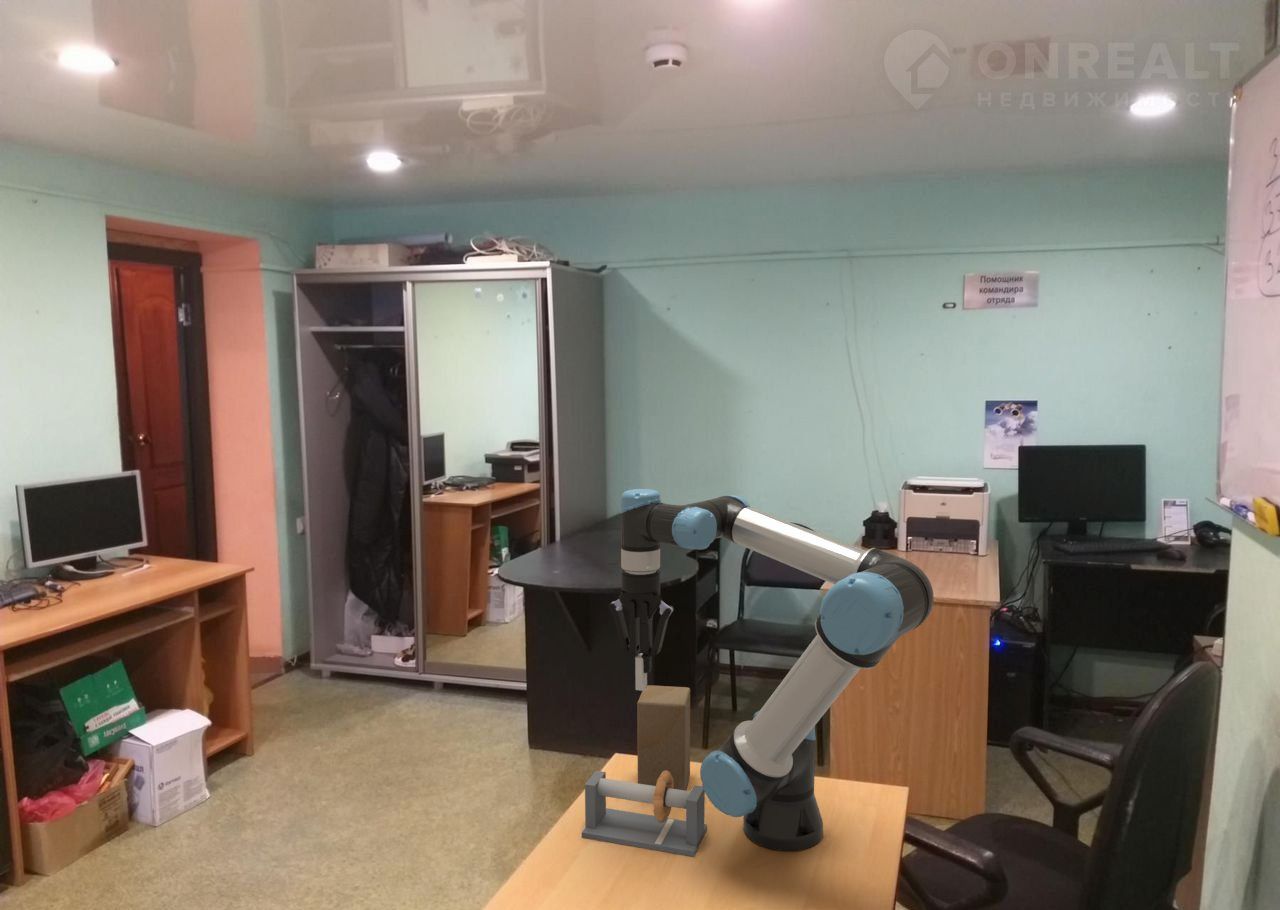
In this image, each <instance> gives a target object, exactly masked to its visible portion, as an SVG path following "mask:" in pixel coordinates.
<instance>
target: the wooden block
mask: <svg viewBox="0 0 1280 910" xmlns="http://www.w3.org/2000/svg"><path fill="white" fill-rule="evenodd" d="M636 705H637V707H636V709H637V710H636V711H637V712H636V713H637V715H636V718H637V721H636V723H637V724H636V725H637V729H636V731H637V732H636V733H637V735H636V736H637V739H636V740H637V743H636V744H637V752H636V753H637V783H638V784H644V785H651V786H656V783H657V780H658V778H659V776H660V775H661V773H662V772H663V771H665V770H667V771H669V772H670V774H671V776H672V778H673V780H674V789H678V790H685V791H687V788H688V785H689V784H688V783H689V779H690V776H691V688H690V687H686V686H670V685H669V686H668V685H667V686H666V685H665V686H664V685H648V684H647V687H646V688H645V689H644V690H643V691H641V694H640V695H639V699H638V700H637V703H636Z"/></svg>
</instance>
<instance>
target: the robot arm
mask: <svg viewBox="0 0 1280 910" xmlns="http://www.w3.org/2000/svg"><path fill="white" fill-rule="evenodd" d="M620 500H621V501H620V512H619V514H620V534H621V536H620V537H621V538H620V539H621V542H620V543H621V545H620V547H621V548H620V554H621V555H620V559H621V560H620V561H621V562H620V567H621V569H622V571H621V573H620V575H621V577H620V578H621V580H620V581H621V584H620V585H621V586H620V587H621V589H620V590H621V591H620V595H619V598H618V599H617V600H614V601H612V602H611V603H609V604H608V605H607V606H608V610H609V611H610V613H611V615H612V616H613V622H614V625H615V629H616V633H617V638H618V641H619V642H618V643H619V647H620V650H621V652H622V653H624V654H625V653H626V654H629V656H630V672H632V673H634V674H635V675H634V676H635V690H636V691H641V692H642V691H643V690H644V689H645V688H646V687H647V685H648V674H650V672H651V671H652V663H653V662H652V661H653V660H652V657H653V656H657V655H658V654H659V653H660V652H661V650H662V647H663V643H664V639H665V634H666V630H667V627H668V621H669V619H670V616H671V614H672V613H673V612H674V610H675V608H674V606H673V605H668V604H666V603H665V602H664V601H663V600H664V599H663V597H662V594H661V571H660V570H659V569H660V568H661V544H662V545H668V546H671V547H672V546H673V547H679V548H682V549H686V550H700V551H701V550H705V549H707V548H709V547H710V544H712V543H713V542H714V540H716V539H718V538H720V539H724V540H725V541H726V540H727V541H728V542H732V543H733V544H737V545H740V546H741V547H744V548H747V549H748V550H751V551H753V552H757V554H758V553H759V554H761V555H763V556H766V557H767V558H770V559H772V560H774V561H778V562H779V563H782V564H785V565H787V566H789V567H792V568H794V569H797V570H799V571H802V572H803V573H807V575H811V576H813V577H816V578H818V579H820V580H823V581H826V582H828V583H830V584H833V585H832V586H831V587H830V588H829V590H828V591H826V593H825V594H824V596H823V598H822V601H821V605H820V609H819V615H818V617H817V618H816V620H815V623H814V625H815V628H814V629H815V632H816V635H815V637H814V638H813V639H812V641H811V643H809V645H808V646H807V647H806V649H805V650H804V652H802V654H801V656H800V657H799V658H798V660H797V661H796V662H795V663H794V665H793V666H792V667H791V669H790V670H789V671H788V673H787V674H786V675H785V677H784V678H783V679H782V681H781V682H780V684H779V685H778V686H777V687H776V689H775V690H774V691H773V692H772V694H771V696H769V698H768V699H767V700H766V701H765V703H764V705H763V706H762V707H761V709H760V710H758V711H756V712H755V713H754V714H753V719H752V720H745V721H741V722H740V723H738V725H737V726H736V727H735V728H734V730H733V731H732V733H731V734H730V735H729V736H728V737H727V739H726V740H725V742H723V744H722V745H721V746H719V748H718V749H717V750H713V751H711V752H709V753H708V755H706V757H704V759H703V760H702V762H701V765H700V769H699V776H700V777H699V778H700V780H701V784H702V785H701V786H703V789H704V791H705V795H706V797H707V798H708V800H709V801H710V803H711V804H712V805H713V806H714V807H715V808H716V810H718V811H719V812H721V813H722V814H724V815H726V816H731V817H732V818H741V817H743V819H742V820H743V821H742V823H743V825H742V828H743V832H744V834H745V835H746V836H747V838H748V839H749V840H751V842H754V843H755V844H757V845H759V846H761V847H764V848H767V849H771V850H775V851H782V852H793V851H802V850H806V849H809V848H812V847H814V846H816V845H817V844H818V843H819V842H820V841H821V840H822V838H823V835H824V833H823V832H824V831H823V830H824V823H823V818H822V814H821V811H820V808H819V805H818V802H817V799H816V795H815V773H816V772H815V767H816V764H815V763H816V758H815V757H816V740H817V737H816V724H818V722H819V721H820V720H821V718H822V717H823V716H824V715H825V714H826V713H827V711H828V709H829V708H830V707H831V706H832V705H833V703H834V702H835V701H836V700H837V698H838V697H839V696H840V695H841V694H842V692H844V690H845V689H846V688H847V686H849V684H850V682H851V681H852V680H853V679H854V677H855V676H856V675H857V674H858V673H859V671H861V670H870V669H871V670H872V669H873V668H875V667H876V666H877V665H878V664H879V663H880V661H881V660H882V659H883V658H884V656H885V655H886V654H887V653H888V652H889V651H890V649H891V648H892V647H893V645H894V644H895V643H896V642H897V641H898V640H899V639H900V638H901V637H902V636H904V635H906V634H908V633H910V632H911V631H913V630H915V629H917V628H918V627H920V626H921V625H923V623H924V622H926V620H928V618H929V616H930V614H931V612H932V610H933V606H934V601H935V600H934V599H935V598H934V589H933V586H932V583H931V581H930V579H929V577H928V576H927V574H926V573H925V571H923V570H922V569H921V568H920V567H919V566H918V565H916V564H914V563H913V562H911V561H909V560H907V559H905V558H903V557H900V556H898V555H894V554H892V553H890V552H887V551H884V550H881V549H879V548H876V547H871V548H870V549H867V550H865V549H863V548H859V547H856V546H854V545H851V544H849V543H845V542H843V541H841V540H838V539H835V538H834V537H833V538H832V537H831V536H827V535H826V534H822V533H819V532H817V531H814V530H811V529H809V528H806V527H804V526H801V525H798V524H795V523H794V522H791V521H787V520H785V519H782V518H779V517H778V516H774V515H771V514H768V513H766V512H763V511H761V510H759V509H756V508H753V507H751V505H750V503H748V501H747V500H746V499H745V498H744V497H742V496H740V495H722V496H719V497H716V498H711V499H707V500H702V501H697V502H693V503H688V504H682V505H678V504H668V503H664V502H662V500H661V493H660V492H659V491H658V490H656V489H651V488H650V489H649V488H635V489H633V488H632V489H629V490H625V491H624V492H623V493H622V494H621V499H620ZM623 609H624V610H625V611H626V613H627V614H628V622H629V631H628V627H627V624H626V620H625V615H624V612H623ZM658 610H659V614H660V617H659V620H658V622H657V623H658V624H657V627H656V632H655V635H654V636H655V637H654V641H653V619H654V614H655V613H656V611H658ZM640 619H641V620H640ZM640 621H641V622H640ZM640 623H641V624H642V650H641V648H640V643H641V642H640V641H641V640H640V631H641V630H640V627H641V626H640ZM640 651H642V652H640ZM639 652H640V653H639Z"/></svg>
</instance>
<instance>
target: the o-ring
mask: <svg viewBox="0 0 1280 910" xmlns="http://www.w3.org/2000/svg"><path fill="white" fill-rule="evenodd" d="M665 787H669V788H671V789H674V780H673V778H672V776H671V774H670V772H669V771H667V770H665V771H663V772H662V773H661V775H660V776H659V778H658V780H657V783H656V788H655V793H654V804H653V816H655V817H656V819H657V820H658V822H660V823H664V822H665V821H666V819H667V818H669V816H670V814H671V812H672V807H669V806H667V807H664V806H663V797H664V792H665Z"/></svg>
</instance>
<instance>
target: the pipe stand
mask: <svg viewBox="0 0 1280 910" xmlns="http://www.w3.org/2000/svg"><path fill="white" fill-rule="evenodd" d="M606 776H607V775H606V771H602V770H601V771H600V770H595V771H594V772H593V774H592V775H591V776H590V778H589V779H588V780H587V781H586V782H585V783H584V810H585V811H584V813H585V814H584V816H585V822H584V824H585V827H584V829H583V830H582V832H581V838H583V839H588V840H589V839H590V840H595V841H599V842H600V841H601V842H606V843H612V844H618V845H623V846H630V847H635V848H641V849H647V850H651V851H652V850H653V851H658V852H659V851H660V852H665V853H668V854H669V853H670V854H675V855H682V856H687V857H694V858H695V856H696V853H697V852H698V849H699V847H700V845H701V844H702V841H703V838H704V837H705V834H706V832H707V830H708V824H706V823H705V815H706V814H705V813H706V812H705V807H706V806H705V799H706V798H705V797H706V796H705V795H706V794H705V791H704V789H703V786H702V785H693V787H692V789H691V791H690V790H686V791H685V790H678V789H671V788H669V787H665V792H664V797H663V806H664V807H667V806H669V807H671V808H678V809H682V810H683V809H684V810H685V811H686V812H685V820H682V819H676V818H671V817H670V818H669V817H667V819H666V821H665V822H664V823H660V822H658V820H657V819H656V817H655V816H654V815H651V814H647V813H646V814H645V813H638V812H632V811H626V810H622V809H621V810H620V809H612V808H607V798H613V799H620V800H625V801H632V802H638V803H644V804H651V805H654V793H655V788H656V786H651V785H644V784H638V782H637V783H636V782H630V781H624V780H618V779H611V778H606Z"/></svg>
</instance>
